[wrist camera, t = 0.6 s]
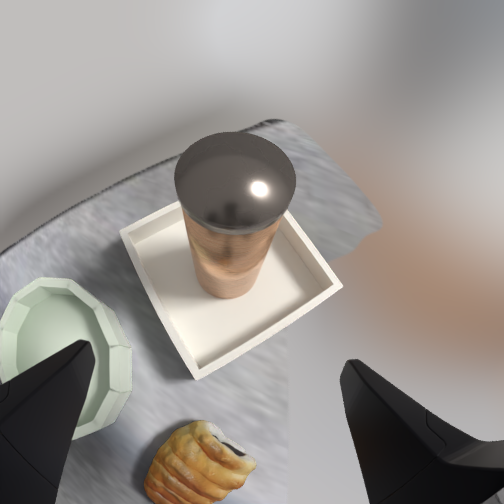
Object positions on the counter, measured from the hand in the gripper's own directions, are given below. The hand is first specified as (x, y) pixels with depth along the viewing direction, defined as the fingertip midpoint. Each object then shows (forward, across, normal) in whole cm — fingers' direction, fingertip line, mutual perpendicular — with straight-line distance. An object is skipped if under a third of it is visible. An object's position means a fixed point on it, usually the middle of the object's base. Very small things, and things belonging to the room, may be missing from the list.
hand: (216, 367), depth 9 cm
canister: (+14, 0, +3) cm, 15 cm away
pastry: (+4, +1, +16) cm, 16 cm away
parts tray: (+15, 0, +4) cm, 16 cm away
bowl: (+8, +14, +10) cm, 19 cm away
